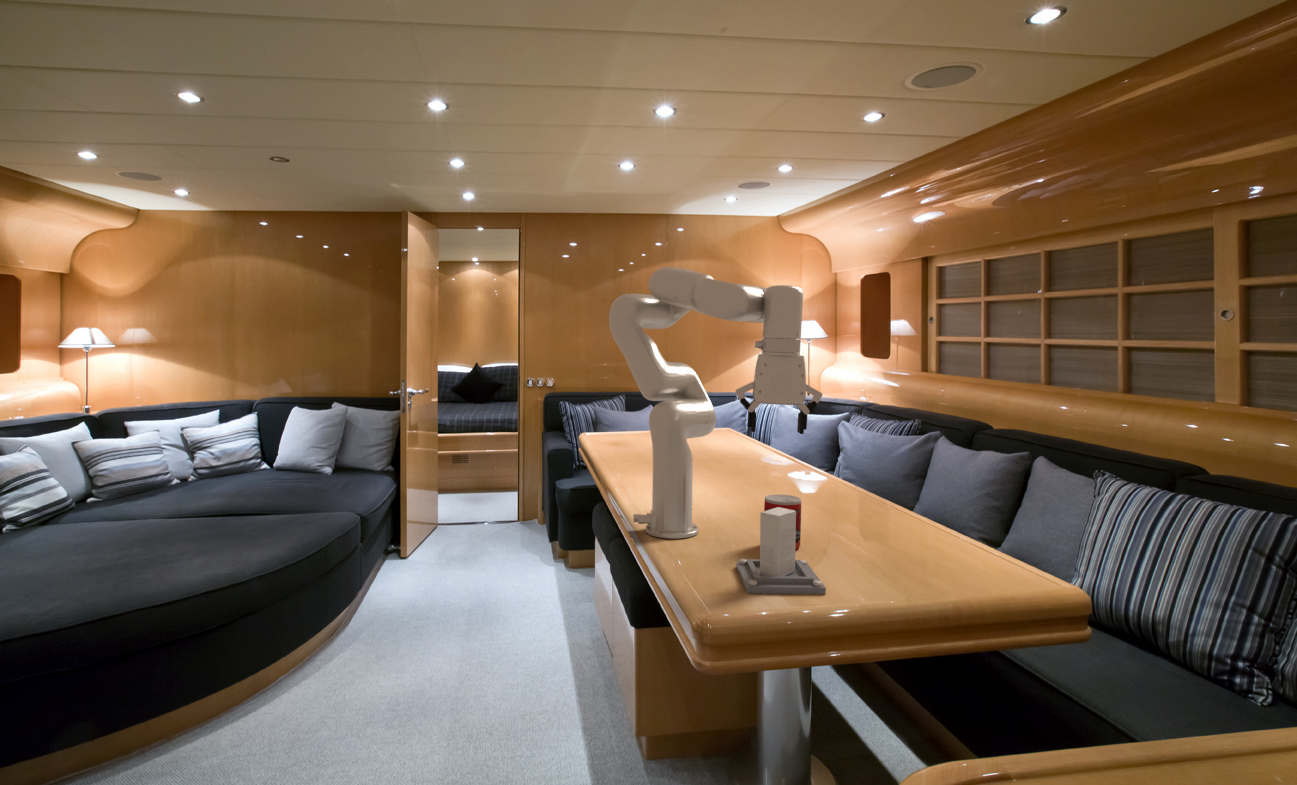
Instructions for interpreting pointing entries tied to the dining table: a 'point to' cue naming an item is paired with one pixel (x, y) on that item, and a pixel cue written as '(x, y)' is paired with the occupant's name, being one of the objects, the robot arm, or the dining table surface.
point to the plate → (779, 579)
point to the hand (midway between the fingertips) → (776, 432)
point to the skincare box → (777, 542)
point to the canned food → (786, 503)
